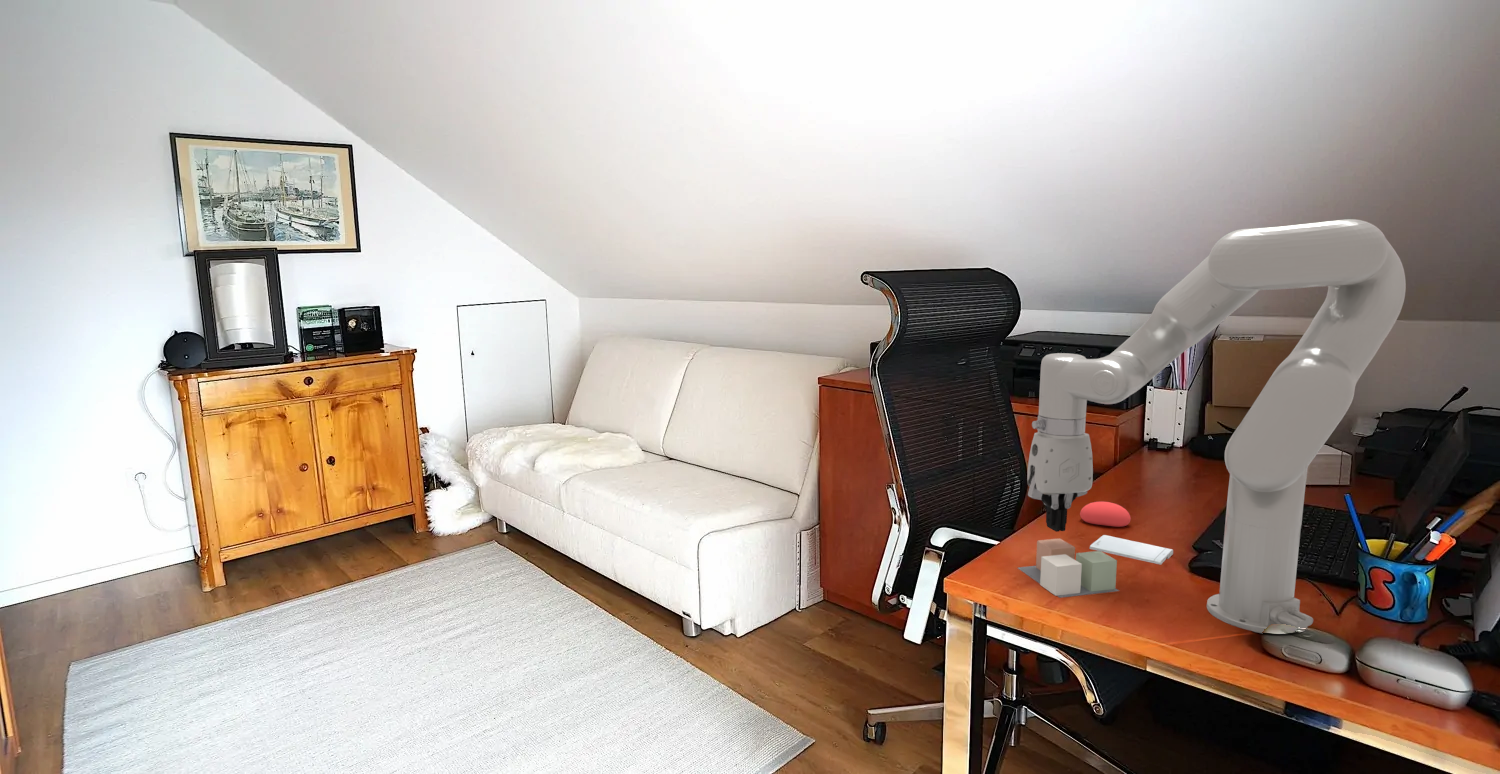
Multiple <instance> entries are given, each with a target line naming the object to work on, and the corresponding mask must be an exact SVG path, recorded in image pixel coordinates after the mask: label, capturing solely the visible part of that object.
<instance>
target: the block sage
mask: <svg viewBox="0 0 1500 774" xmlns="http://www.w3.org/2000/svg"><path fill="white" fill-rule="evenodd" d="M1075 560H1076V561H1078V562H1079V563H1081V564H1082V570H1081V586H1083V587H1084V588H1086V589H1088V590H1089V591H1091V592H1094V591H1103V590H1112V589H1115V588H1116V586H1117V585H1116V583H1117V569H1118V568H1117V566H1118V560H1117V559H1115V558H1113V557H1111V556H1110V555H1108V554H1106V552H1102V551H1097V550H1092V551H1086V552H1075Z"/></svg>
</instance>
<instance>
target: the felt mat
mask: <svg viewBox="0 0 1500 774" xmlns="http://www.w3.org/2000/svg"><path fill="white" fill-rule="evenodd" d="M1017 570H1019V571H1021V572H1022V573H1024V574H1025V575H1026V576H1028V577H1029V578H1031V579H1033V581H1035V582H1036V583H1038V584H1039V585H1040V577H1041V571H1040V570H1039V569H1038V568H1036V565H1030V566H1020V567H1017ZM1115 592H1116V593H1117V592H1120V590H1119V589H1118V588H1116V587H1115V589H1112V590H1103V591H1094V592H1091V591H1089V590H1088V589H1086V588H1084V587H1083V586H1081V588H1080V593H1076V594H1067V595H1058V596H1057V597H1058V598H1059V599H1060V598H1061V599H1062V598H1070V597H1078V596H1088V595H1096V594H1107V593H1115Z"/></svg>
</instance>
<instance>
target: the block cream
mask: <svg viewBox="0 0 1500 774" xmlns="http://www.w3.org/2000/svg"><path fill="white" fill-rule="evenodd" d="M1081 570H1082V564H1081V563H1079V562H1078V561H1076V559H1075V560H1074V559H1073V558H1071V557H1069V556H1068V555H1066V554H1063V555H1053V556H1043V557H1041V577H1040V584H1039V585H1040V586H1041V587H1043V588H1044V589H1046V591H1048V592H1049V593H1051V594H1053V595H1054V596H1055V597H1056V596H1057V597H1058V595H1067V594H1076V593H1080V588H1081Z"/></svg>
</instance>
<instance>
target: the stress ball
mask: <svg viewBox="0 0 1500 774" xmlns="http://www.w3.org/2000/svg"><path fill="white" fill-rule="evenodd" d="M1079 515H1080V518H1081V519H1082V521H1084V522H1085V523H1088V524H1091V525H1098V526H1107V527H1113V528H1122V527H1125V526H1128V524H1130V522H1131V520H1132V517H1131V515H1130V512H1129V511H1128V510H1127V509H1126V508H1124V507H1123V506H1122V505H1119V504H1118V503H1113V502H1109V501H1094V502H1090V503H1087V504H1086V505H1084V506H1083V507H1082V508H1081V510H1080V512H1079Z"/></svg>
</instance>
